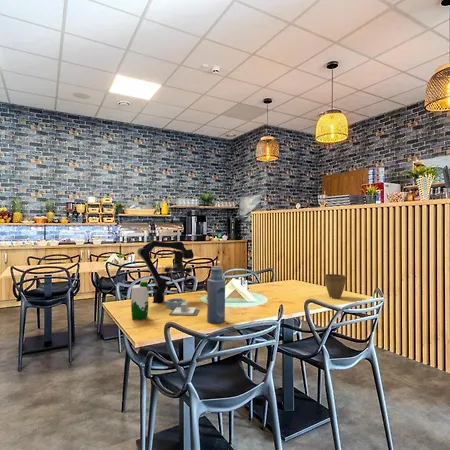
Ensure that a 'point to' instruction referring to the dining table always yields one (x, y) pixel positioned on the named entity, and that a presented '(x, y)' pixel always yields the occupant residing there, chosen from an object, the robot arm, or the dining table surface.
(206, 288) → the ice cream bowl
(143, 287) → the milk carton
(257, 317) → the dining table surface
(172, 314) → the mat
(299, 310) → the dining table surface
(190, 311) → the cover
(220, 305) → the bottle
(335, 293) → the plant pot
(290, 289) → the dining table surface
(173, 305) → the dish
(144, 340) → the dining table surface
